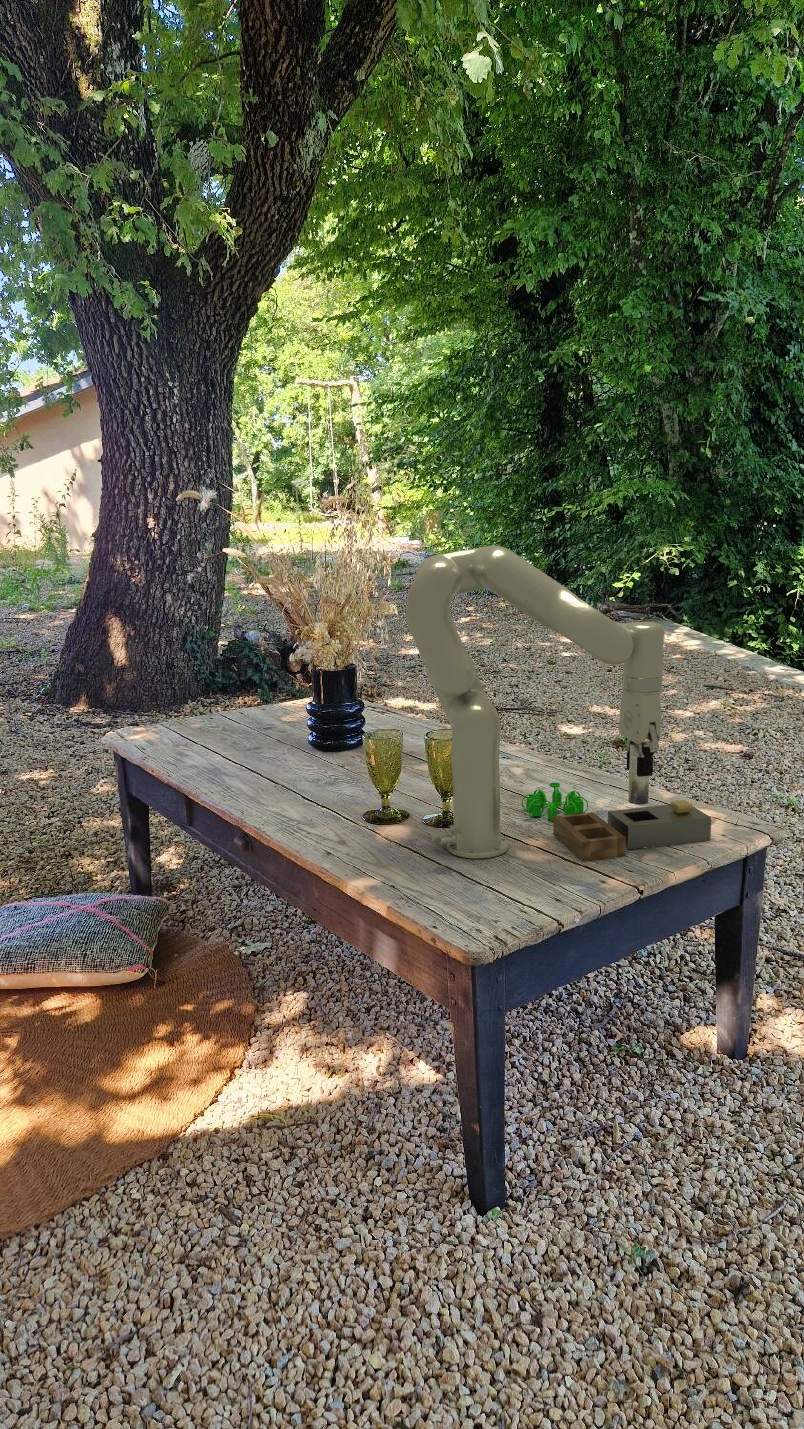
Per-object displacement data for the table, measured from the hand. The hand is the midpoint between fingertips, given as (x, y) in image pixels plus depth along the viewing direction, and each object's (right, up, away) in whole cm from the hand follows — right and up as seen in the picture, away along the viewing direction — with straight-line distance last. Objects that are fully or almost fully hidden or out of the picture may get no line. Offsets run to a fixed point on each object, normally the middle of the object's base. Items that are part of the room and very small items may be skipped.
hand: (639, 771), depth 184 cm
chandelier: (-13, -11, +22) cm, 28 cm away
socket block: (+5, -14, +4) cm, 15 cm away
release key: (+10, -13, +5) cm, 17 cm away
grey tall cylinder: (0, -6, +1) cm, 6 cm away
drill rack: (-10, -15, +1) cm, 18 cm away
